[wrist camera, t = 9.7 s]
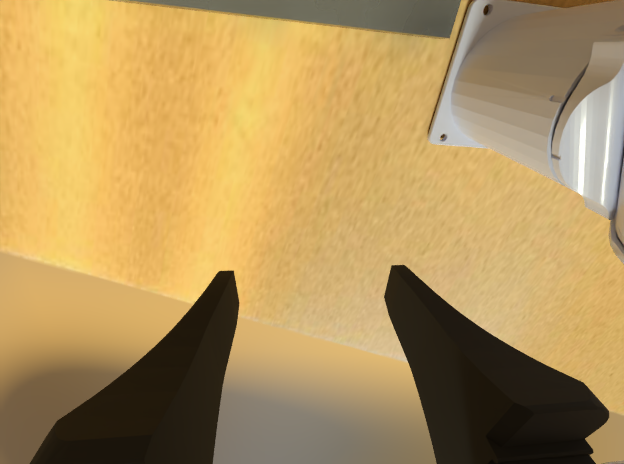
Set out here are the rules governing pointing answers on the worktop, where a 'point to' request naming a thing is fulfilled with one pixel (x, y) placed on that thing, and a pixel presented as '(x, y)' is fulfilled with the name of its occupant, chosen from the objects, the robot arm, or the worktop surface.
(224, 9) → the shaft mount
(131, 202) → the worktop surface
